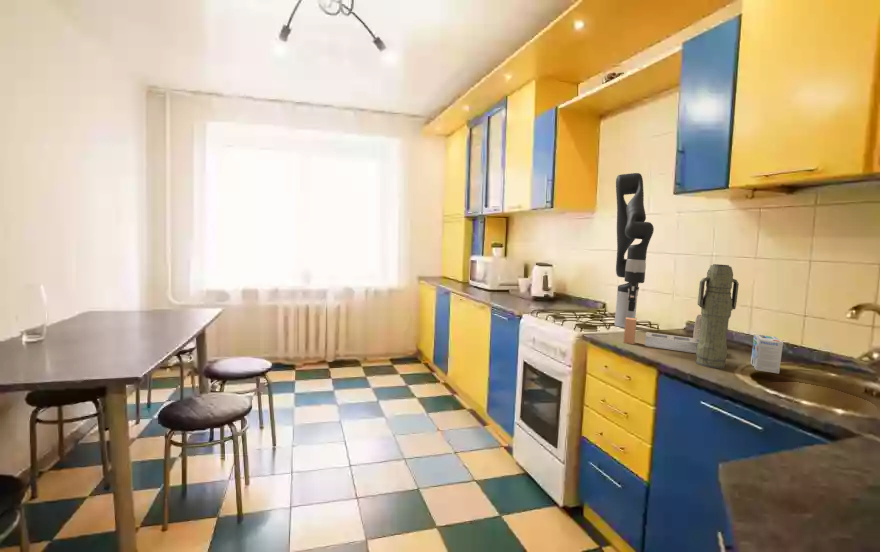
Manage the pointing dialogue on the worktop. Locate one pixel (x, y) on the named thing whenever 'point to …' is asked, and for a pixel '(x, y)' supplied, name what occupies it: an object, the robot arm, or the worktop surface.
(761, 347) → the light bulb box
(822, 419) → the worktop surface
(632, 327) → the square peg
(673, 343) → the rack rail
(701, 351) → the thermos
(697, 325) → the carving
